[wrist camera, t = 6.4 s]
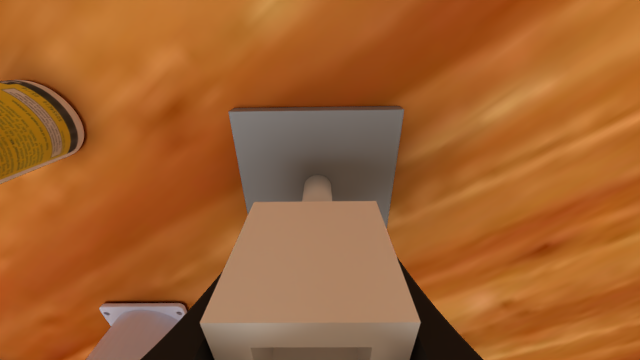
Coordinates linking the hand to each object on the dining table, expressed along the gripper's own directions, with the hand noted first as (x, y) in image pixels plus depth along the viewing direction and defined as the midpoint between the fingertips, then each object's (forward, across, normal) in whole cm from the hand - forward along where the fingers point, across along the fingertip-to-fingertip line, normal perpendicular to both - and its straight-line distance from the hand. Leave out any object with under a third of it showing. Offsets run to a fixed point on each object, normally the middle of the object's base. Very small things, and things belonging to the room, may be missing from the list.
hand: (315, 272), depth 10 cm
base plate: (+8, 0, 0) cm, 8 cm away
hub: (+1, 0, 0) cm, 1 cm away
